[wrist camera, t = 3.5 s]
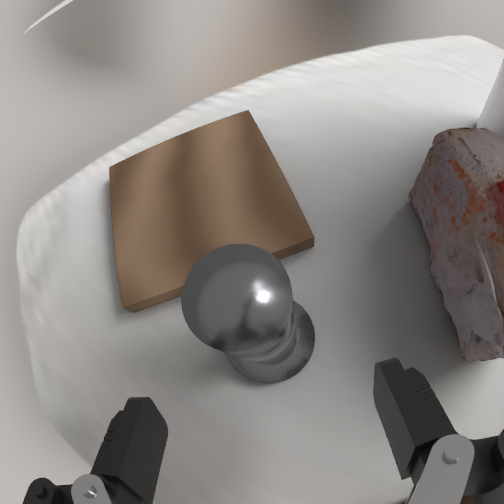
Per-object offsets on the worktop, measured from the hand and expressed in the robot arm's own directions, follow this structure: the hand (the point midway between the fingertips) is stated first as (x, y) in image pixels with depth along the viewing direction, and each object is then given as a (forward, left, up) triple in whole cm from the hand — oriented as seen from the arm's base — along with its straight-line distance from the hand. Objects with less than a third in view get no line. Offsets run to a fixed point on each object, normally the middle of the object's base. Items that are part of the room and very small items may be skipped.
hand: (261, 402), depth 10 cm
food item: (-16, -2, -9) cm, 18 cm away
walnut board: (+1, -15, -9) cm, 18 cm away
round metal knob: (-1, -3, -9) cm, 10 cm away
